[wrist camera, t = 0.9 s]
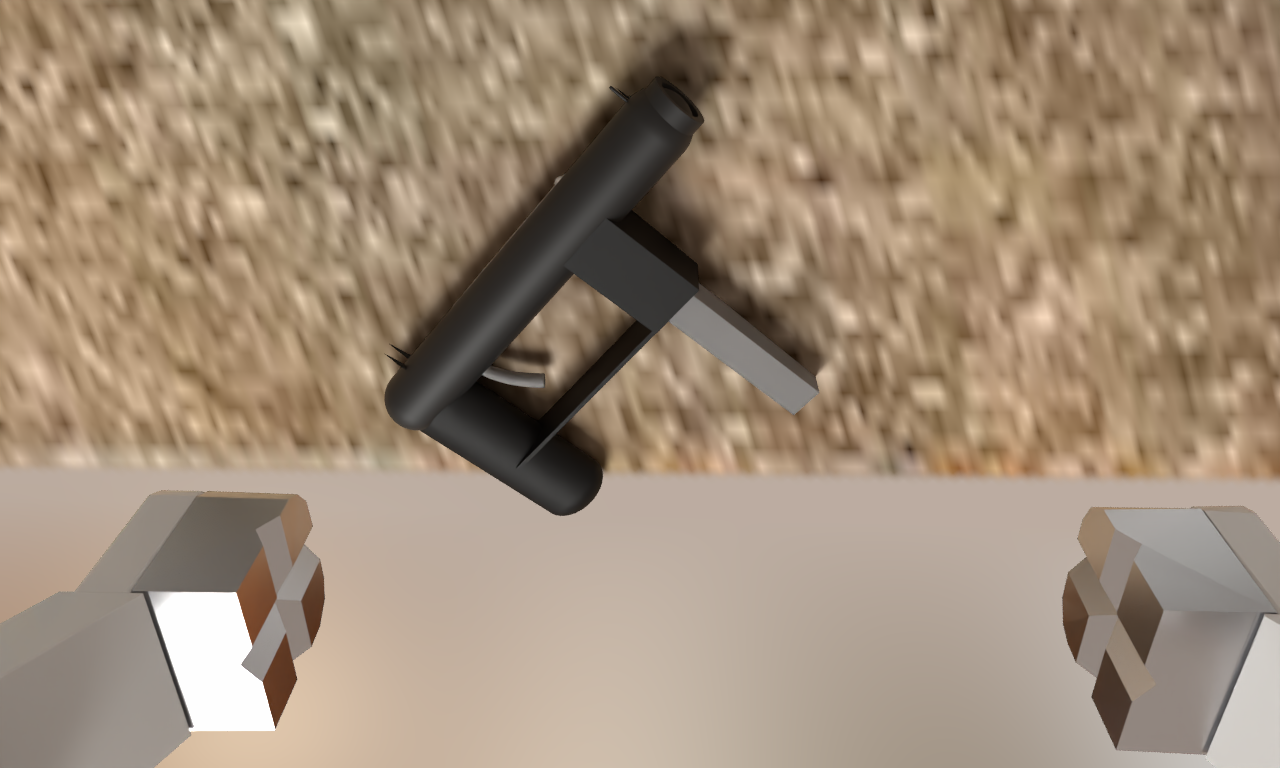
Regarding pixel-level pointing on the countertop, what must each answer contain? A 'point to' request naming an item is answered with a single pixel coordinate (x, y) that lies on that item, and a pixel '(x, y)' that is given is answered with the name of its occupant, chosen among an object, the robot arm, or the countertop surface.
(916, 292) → the countertop surface
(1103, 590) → the robot arm
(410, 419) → the door handle
